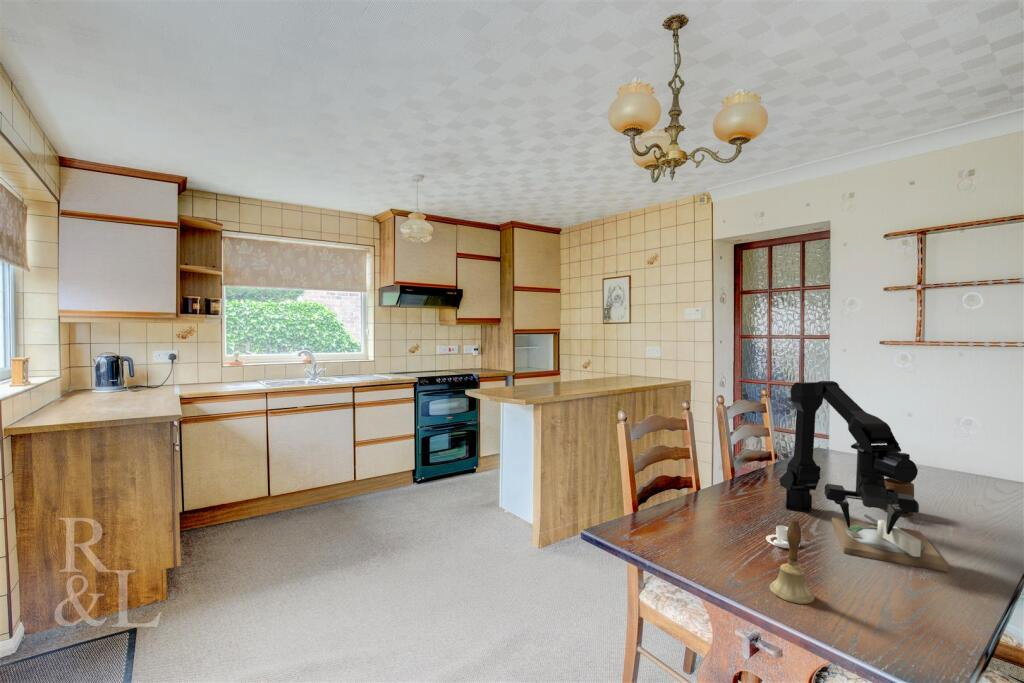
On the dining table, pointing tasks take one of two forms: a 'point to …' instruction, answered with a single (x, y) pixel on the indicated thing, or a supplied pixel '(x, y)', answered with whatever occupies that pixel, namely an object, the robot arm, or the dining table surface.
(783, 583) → the hand bell
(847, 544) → the tuner board
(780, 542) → the teacup and saucer
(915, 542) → the dial pointer lever
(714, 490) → the dining table surface
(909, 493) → the mug
